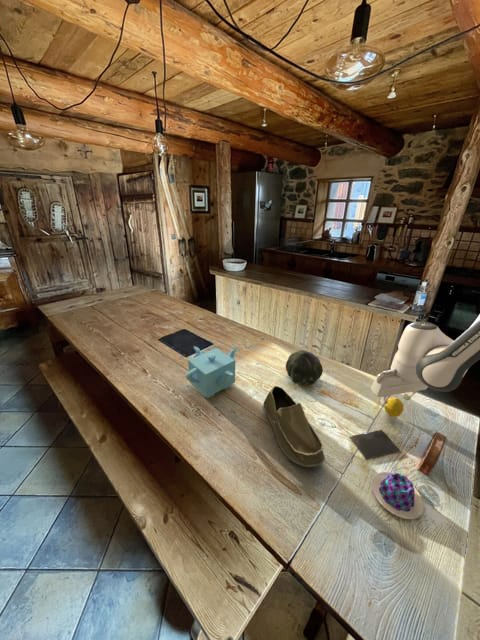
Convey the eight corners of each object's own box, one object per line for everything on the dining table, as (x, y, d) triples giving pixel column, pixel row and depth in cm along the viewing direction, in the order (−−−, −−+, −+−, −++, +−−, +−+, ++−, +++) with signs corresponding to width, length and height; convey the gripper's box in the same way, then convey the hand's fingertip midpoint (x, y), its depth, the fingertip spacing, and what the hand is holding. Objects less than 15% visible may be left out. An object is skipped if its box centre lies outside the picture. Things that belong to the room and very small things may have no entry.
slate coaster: (381, 430, 89) (381, 429, 88) (399, 451, 82) (400, 450, 81) (349, 437, 86) (350, 436, 86) (365, 459, 79) (366, 457, 79)
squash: (314, 355, 120) (298, 336, 112) (334, 375, 107) (318, 357, 99) (291, 375, 121) (273, 359, 113) (308, 398, 109) (289, 382, 100)
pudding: (368, 468, 76) (372, 456, 74) (415, 480, 73) (421, 468, 71) (374, 511, 66) (379, 498, 64) (429, 528, 63) (436, 515, 61)
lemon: (382, 419, 93) (388, 401, 90) (381, 408, 98) (387, 391, 95) (400, 423, 92) (407, 406, 88) (398, 412, 96) (405, 395, 93)
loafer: (299, 480, 73) (304, 454, 68) (253, 406, 98) (254, 384, 93) (332, 465, 77) (338, 440, 72) (279, 398, 102) (281, 376, 97)
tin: (428, 444, 84) (437, 424, 81) (439, 450, 82) (449, 430, 79) (414, 475, 75) (423, 455, 71) (426, 483, 73) (437, 463, 69)
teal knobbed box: (185, 400, 100) (181, 368, 94) (195, 370, 117) (193, 341, 110) (234, 403, 99) (235, 371, 93) (238, 372, 116) (238, 343, 110)
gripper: (386, 378, 81) (375, 412, 87) (440, 370, 85) (426, 403, 91) (372, 366, 86) (363, 398, 92) (424, 359, 91) (411, 390, 97)
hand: (394, 400), depth 92 cm, fingers open, 8 cm apart
